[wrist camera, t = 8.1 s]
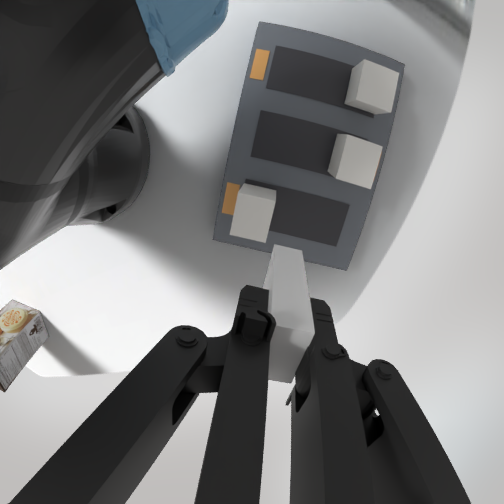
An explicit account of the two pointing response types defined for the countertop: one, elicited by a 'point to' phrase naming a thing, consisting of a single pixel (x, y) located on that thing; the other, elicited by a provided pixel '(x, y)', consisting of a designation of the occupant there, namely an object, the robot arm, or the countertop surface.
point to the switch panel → (302, 143)
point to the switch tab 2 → (372, 87)
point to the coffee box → (18, 339)
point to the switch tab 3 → (354, 160)
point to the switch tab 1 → (253, 212)
